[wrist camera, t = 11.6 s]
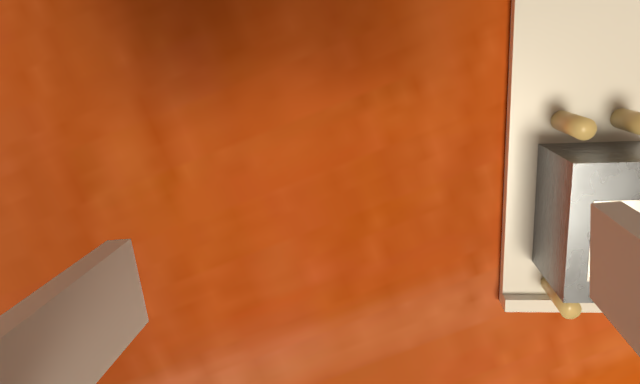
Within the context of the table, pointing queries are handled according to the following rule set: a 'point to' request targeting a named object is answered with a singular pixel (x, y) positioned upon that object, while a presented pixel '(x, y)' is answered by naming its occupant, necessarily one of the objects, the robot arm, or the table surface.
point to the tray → (561, 116)
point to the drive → (577, 206)
